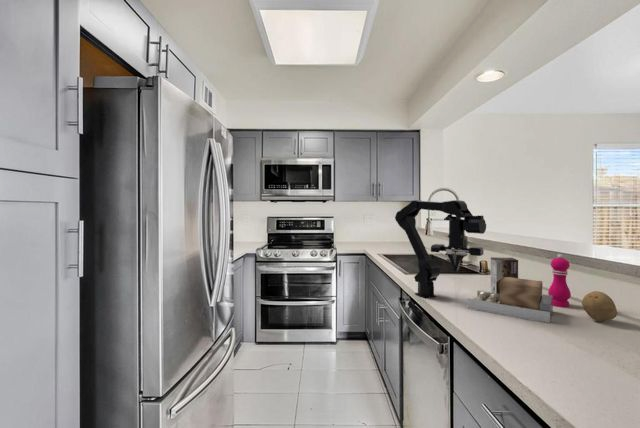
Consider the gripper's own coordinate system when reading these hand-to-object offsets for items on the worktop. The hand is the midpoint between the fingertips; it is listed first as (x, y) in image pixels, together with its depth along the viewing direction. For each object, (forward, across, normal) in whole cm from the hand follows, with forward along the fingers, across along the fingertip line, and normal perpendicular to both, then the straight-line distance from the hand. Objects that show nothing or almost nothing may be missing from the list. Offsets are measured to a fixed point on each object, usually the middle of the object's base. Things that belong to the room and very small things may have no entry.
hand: (456, 271), depth 133 cm
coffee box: (+13, -13, -25) cm, 31 cm away
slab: (+10, -22, -3) cm, 24 cm away
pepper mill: (+13, -33, -23) cm, 42 cm away
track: (+12, -18, -3) cm, 22 cm away
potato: (+13, -44, -8) cm, 46 cm away
